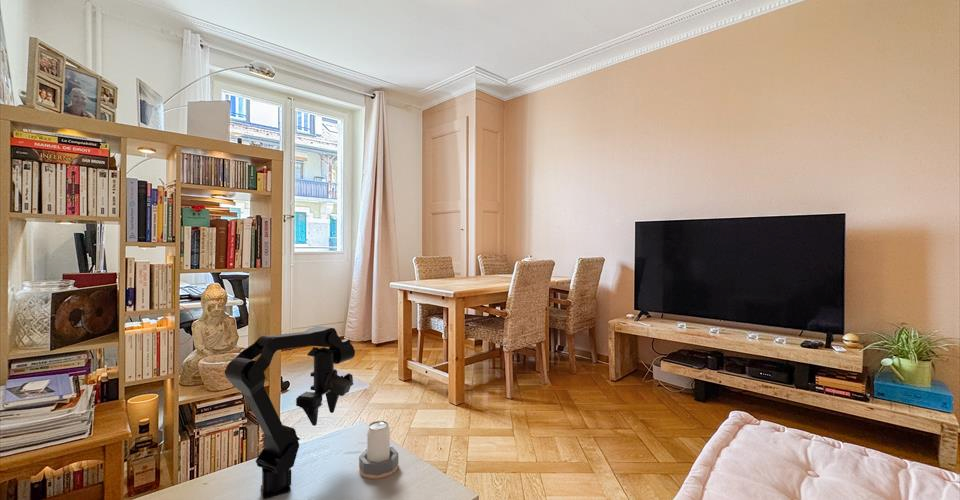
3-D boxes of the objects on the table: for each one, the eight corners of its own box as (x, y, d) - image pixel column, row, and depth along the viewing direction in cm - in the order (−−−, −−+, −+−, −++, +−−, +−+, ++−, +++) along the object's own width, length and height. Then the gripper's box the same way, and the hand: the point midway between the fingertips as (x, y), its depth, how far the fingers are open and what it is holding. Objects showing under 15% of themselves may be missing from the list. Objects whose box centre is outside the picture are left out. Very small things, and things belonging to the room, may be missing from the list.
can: (392, 459, 122) (392, 420, 122) (385, 471, 115) (386, 430, 115) (371, 458, 122) (371, 419, 122) (363, 470, 116) (364, 429, 116)
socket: (366, 483, 111) (366, 469, 111) (354, 465, 121) (354, 451, 121) (404, 471, 117) (404, 457, 117) (390, 454, 127) (390, 442, 127)
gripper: (330, 379, 112) (330, 435, 112) (362, 361, 130) (362, 409, 130) (294, 377, 114) (294, 431, 114) (331, 358, 132) (331, 406, 132)
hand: (323, 418), depth 123 cm, fingers open, 9 cm apart
